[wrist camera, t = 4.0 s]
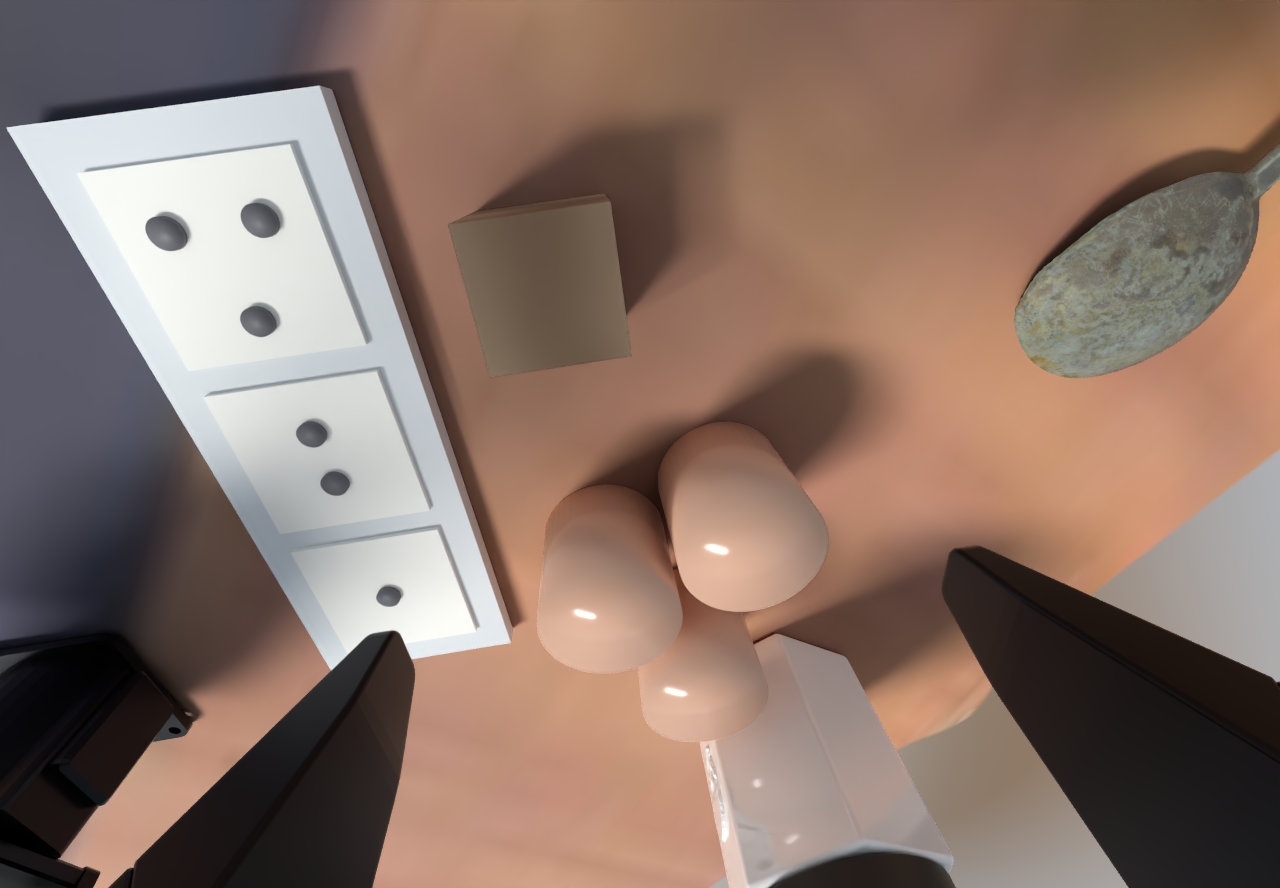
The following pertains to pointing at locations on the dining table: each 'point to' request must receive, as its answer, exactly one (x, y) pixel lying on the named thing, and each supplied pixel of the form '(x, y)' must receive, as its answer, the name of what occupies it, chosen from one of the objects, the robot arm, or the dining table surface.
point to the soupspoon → (1144, 274)
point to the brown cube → (544, 283)
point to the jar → (819, 786)
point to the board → (283, 353)
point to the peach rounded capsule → (607, 582)
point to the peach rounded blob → (738, 519)
